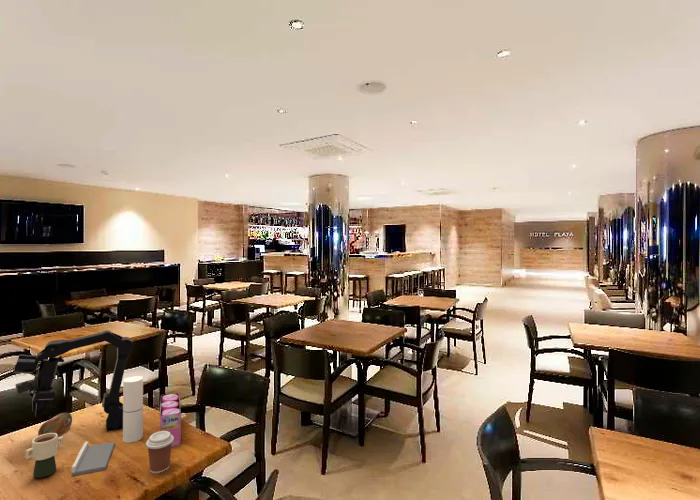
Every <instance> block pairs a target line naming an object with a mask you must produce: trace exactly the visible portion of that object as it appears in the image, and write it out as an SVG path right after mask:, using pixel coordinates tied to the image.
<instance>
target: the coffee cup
mask: <svg viewBox="0 0 700 500" xmlns="http://www.w3.org/2000/svg"><path fill="white" fill-rule="evenodd" d="M173 440H174V437H173V435H171V433H170V432H168V431H160V430H158V431H155V432H154V433H152V434H150V436H149V437H148V439H147V441H146V442H145V447H146V448H147V450H148V461H149V471H150V473H151V472H152V473H151V474H161V473H163V471H164V472H166V471H167V470H168V469H170V466H171V465H170V464H171V456H172V455H171V453H172V447H171V445H172V442H173ZM165 470H166V471H165ZM160 472H161V473H160Z"/></svg>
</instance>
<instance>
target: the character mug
mask: <svg viewBox="0 0 700 500" xmlns="http://www.w3.org/2000/svg"><path fill="white" fill-rule="evenodd" d="M63 444H64V437H63V436H62V435H61V436H60V437H58V435H57V433H47V434H43V435H40V436H38V435H37V436H36V437H34V438H33V439H32V440H31V447H30V448H27V449H26V450H25V459H26V460H28V459H29V460H30V459H31V458H32V459H33V461H35V462H34V465H33V466H34V467H33V473H32V474H33V477H34V478H45V477H48V476H50V475H52V474H53V473H55V472H56V470H57V464H56V463H57V462H56V458H55V455H57V454H58V451H59V447H61V446H63ZM30 452H31V454H30Z"/></svg>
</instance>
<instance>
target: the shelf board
mask: <svg viewBox="0 0 700 500" xmlns="http://www.w3.org/2000/svg"><path fill="white" fill-rule="evenodd" d="M115 445H116V442H115V441H112V442H105V443H99V444H94V445H89V440H88V441H85V442H84V443H83V445H82V447H81V448H80V450H79V452H78V454H77V456H76V458H75V461H74V462H73V464H72V466H71V477H75V476H80V475H85V474H92V473H96V472H101V471H106V469H107V467H108V464H109V462H110V459H111V456H112V453H113V450H114V448H115Z"/></svg>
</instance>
